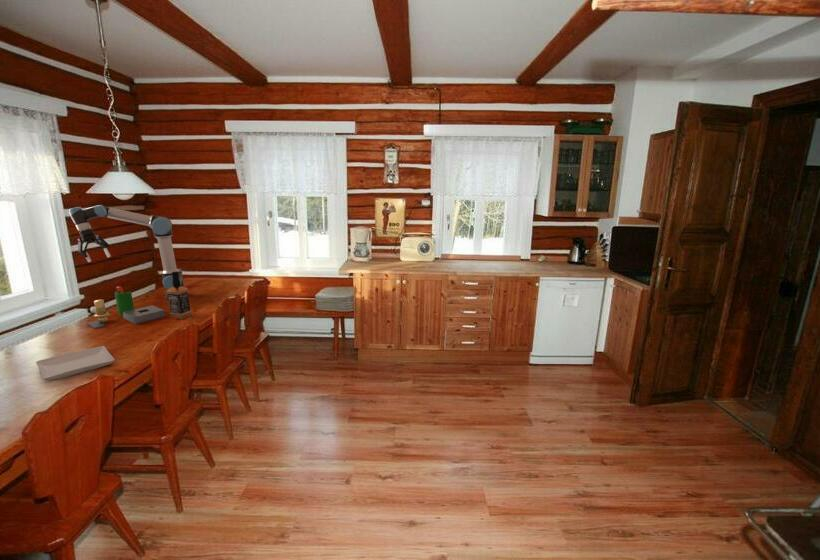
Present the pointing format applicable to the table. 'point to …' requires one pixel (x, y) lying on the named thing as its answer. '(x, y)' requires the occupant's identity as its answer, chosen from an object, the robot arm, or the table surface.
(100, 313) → the brass flanged peg
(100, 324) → the charcoal mat
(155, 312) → the plate
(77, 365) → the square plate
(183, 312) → the whiskey bottle
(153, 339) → the table surface
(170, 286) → the robot arm
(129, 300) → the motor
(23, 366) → the table surface
